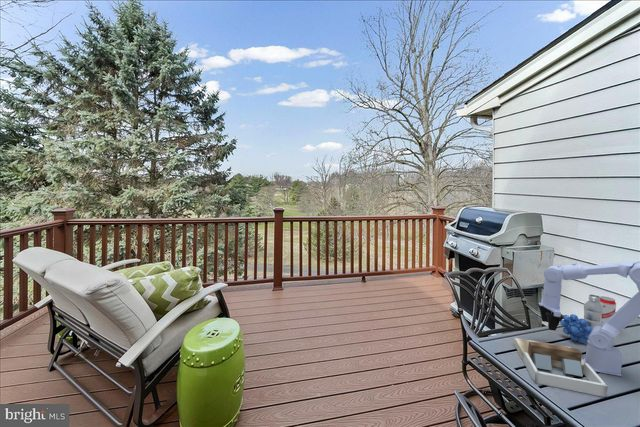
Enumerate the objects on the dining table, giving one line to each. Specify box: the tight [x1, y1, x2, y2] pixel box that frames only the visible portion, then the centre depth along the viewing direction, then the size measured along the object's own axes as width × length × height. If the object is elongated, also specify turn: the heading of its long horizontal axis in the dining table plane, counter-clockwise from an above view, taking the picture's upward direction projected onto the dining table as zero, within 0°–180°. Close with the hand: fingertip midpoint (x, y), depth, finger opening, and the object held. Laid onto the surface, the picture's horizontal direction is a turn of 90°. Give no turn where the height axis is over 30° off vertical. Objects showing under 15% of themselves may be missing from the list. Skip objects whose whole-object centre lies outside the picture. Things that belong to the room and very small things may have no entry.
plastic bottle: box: [583, 294, 603, 328], centre depth 133 cm, size 6×7×20 cm
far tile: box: [533, 353, 553, 371], centre depth 112 cm, size 5×5×2 cm
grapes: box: [559, 313, 592, 344], centre depth 130 cm, size 12×7×12 cm, turn 36°
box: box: [522, 352, 608, 398], centre depth 106 cm, size 20×13×4 cm, turn 70°
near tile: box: [562, 358, 584, 378], centre depth 109 cm, size 5×5×2 cm
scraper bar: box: [528, 340, 583, 363], centre depth 113 cm, size 16×3×4 cm, turn 71°
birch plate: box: [513, 337, 584, 373], centre depth 119 cm, size 20×13×3 cm, turn 70°
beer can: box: [599, 296, 617, 324], centre depth 140 cm, size 6×6×16 cm
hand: (548, 325), depth 124 cm, fingers open, 7 cm apart
